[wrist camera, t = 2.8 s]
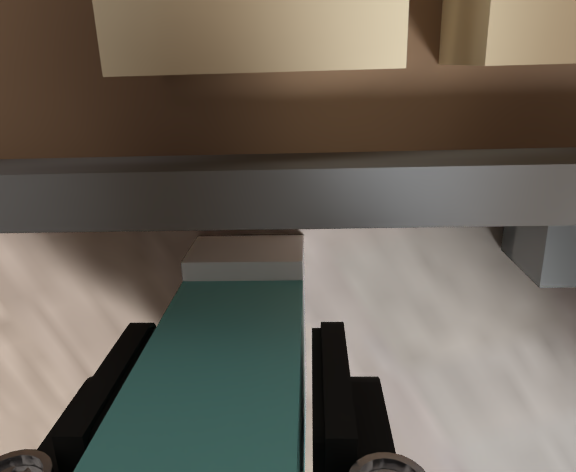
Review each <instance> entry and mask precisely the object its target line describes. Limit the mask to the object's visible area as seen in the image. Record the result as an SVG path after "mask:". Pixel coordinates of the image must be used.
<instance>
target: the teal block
mask: <svg viewBox="0 0 576 472" xmlns="http://www.w3.org/2000/svg"><path fill="white" fill-rule="evenodd" d="M181 269H182V278H183V282H182V284H181V285H180V287H179V289H178V291H177V292H176V294H175V296H174V298H173V299H172V301H171V303H170V305H169V306H168V308H167V310H166V311H165V313H164V315H163V317H162V318H161V320H160V322H159V324H158V325H157V327H156V329H155V331H154V332H153V334H152V336H151V338H150V339H149V341H148V343H147V344H146V346H145V348H144V350H143V351H142V353H141V355H140V357H139V358H138V360H137V362H136V364H135V365H134V367H133V369H132V371H131V372H130V374H129V376H128V377H127V379H126V381H125V383H124V384H123V386H122V388H121V390H120V391H119V393H118V395H117V397H116V398H115V400H114V402H113V404H112V405H111V407H110V409H109V411H108V412H107V414H106V416H105V417H104V419H103V421H102V423H101V424H100V426H99V428H98V430H97V431H96V433H95V435H94V437H93V438H92V440H91V442H90V444H89V445H88V447H87V449H86V450H85V452H84V454H83V456H82V457H81V459H80V461H79V463H78V464H77V466H76V468H75V470H74V471H73V472H305V430H306V343H305V291H304V239H303V235H254V236H198V237H197V238H196V240H195V241H194V243H193V245H192V246H191V248H190V249H189V251H188V252H187V254H186V256H185V257H184V259H183V260H182V262H181Z"/></svg>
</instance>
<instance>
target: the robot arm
mask: <svg viewBox="0 0 576 472" xmlns="http://www.w3.org/2000/svg"><path fill="white" fill-rule="evenodd" d="M155 329H156V325H155V324H154V323H130V324H129V325H128V326H127V328H126V329H125V330H124V332H123V333H122V335H121V336H120V338H119V339H118V341H117V342H116V344H115V345H114V346H113V348H112V349H111V351H110V352H109V354H108V355H107V357H106V358H105V359H104V361H103V362H102V364H101V365H100V367H99V368H98V370H97V371H96V373H95V374H94V375H93V376H92V377H89V378H88V379H87V380H86V381H85V382H84V384H83V385H82V386H81V388H80V389H79V391H78V392H77V394H76V395H75V396H74V398H73V399H72V401H71V402H70V404H69V405H68V406H67V408H66V409H65V411H64V412H63V413H62V415H61V416H60V418H59V419H58V421H57V422H56V423H55V425H54V426H53V428H52V429H51V431H50V432H49V433H48V435H47V436H46V438H45V439H44V440H43V442H42V443H41V445H40V446H39V448H38V449H37V450H32V449H24V450H18V451H13V452H10V453H7V454H4V455H2V456H0V472H73V471H74V470H75V468H76V466H77V464H78V463H79V461H80V459H81V457H82V456H83V454H84V452H85V450H86V449H87V447H88V445H89V444H90V442H91V440H92V438H93V437H94V435H95V433H96V431H97V430H98V428H99V426H100V424H101V423H102V421H103V419H104V417H105V416H106V414H107V412H108V411H109V409H110V407H111V405H112V404H113V402H114V400H115V398H116V397H117V395H118V393H119V391H120V390H121V388H122V386H123V384H124V383H125V381H126V379H127V377H128V376H129V374H130V372H131V371H132V369H133V367H134V365H135V364H136V362H137V360H138V358H139V357H140V355H141V353H142V351H143V350H144V348H145V346H146V344H147V343H148V341H149V339H150V338H151V336H152V334H153V332H154V331H155ZM312 409H313V472H425V471H424V469H423V468H422V467H421V466H419V465H418V464H417V463H416V462H414V461H413V460H411V459H409V458H407V457H405V456H402V455H399V454H396V452H395V447H394V443H393V438H392V434H391V429H390V424H389V420H388V415H387V410H386V406H385V401H384V397H383V392H382V387H381V383H380V379H379V377H350V370H349V362H348V354H347V346H346V338H345V330H344V323H343V322H321V328H312Z"/></svg>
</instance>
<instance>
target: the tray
mask: <svg viewBox="0 0 576 472" xmlns="http://www.w3.org/2000/svg"><path fill="white" fill-rule="evenodd" d="M501 250H502V251H503V252H504V253H505V254H506V255H507V256H508V257H509V258H510V259H511V260H512V261H513V262H514V263H515V264H516V265H517V266H518V267H519V268H520V269H521V270H522V271H523V272H524V273H525V274H526V275H527V276H528V277H529V278H530V279H531V280H532V281H533V282H534V283H535V284H536V285H537V286H538V287H539V288H563V287H576V225H566V226H504V230H503V239H502V248H501Z"/></svg>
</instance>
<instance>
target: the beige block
mask: <svg viewBox="0 0 576 472" xmlns="http://www.w3.org/2000/svg"><path fill="white" fill-rule="evenodd" d="M573 63H576V0H443V4H442V19H441V34H440V50H439V65H468V66H503V65H538V64H573Z"/></svg>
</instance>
